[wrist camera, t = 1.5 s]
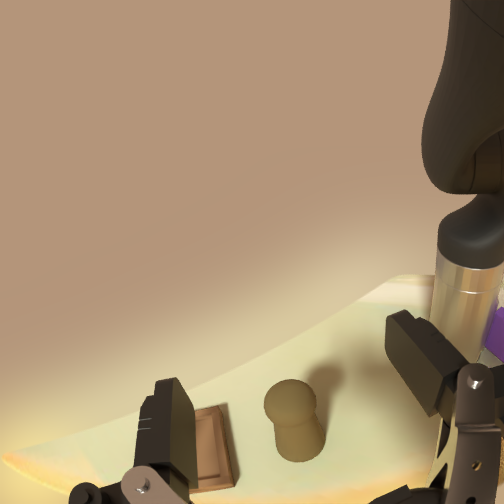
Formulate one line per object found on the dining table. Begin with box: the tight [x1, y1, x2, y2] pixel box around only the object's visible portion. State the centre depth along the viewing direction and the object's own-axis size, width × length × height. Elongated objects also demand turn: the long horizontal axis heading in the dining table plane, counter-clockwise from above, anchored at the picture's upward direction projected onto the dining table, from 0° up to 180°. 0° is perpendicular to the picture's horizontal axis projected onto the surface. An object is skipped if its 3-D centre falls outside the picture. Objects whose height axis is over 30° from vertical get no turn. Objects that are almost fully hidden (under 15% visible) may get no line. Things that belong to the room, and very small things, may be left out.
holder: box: [189, 406, 234, 494], centre depth 32 cm, size 12×12×2 cm
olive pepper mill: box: [264, 379, 325, 462], centre depth 29 cm, size 6×6×11 cm
